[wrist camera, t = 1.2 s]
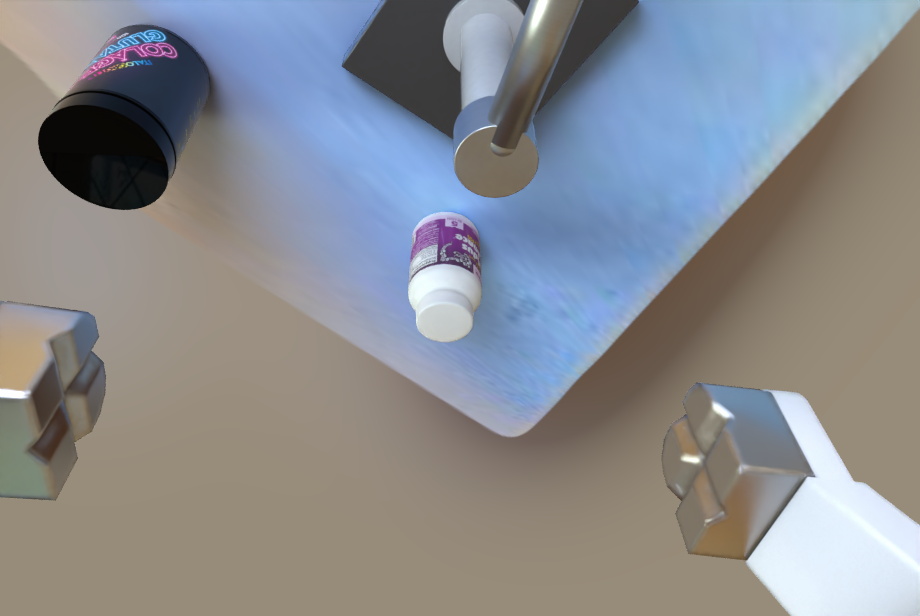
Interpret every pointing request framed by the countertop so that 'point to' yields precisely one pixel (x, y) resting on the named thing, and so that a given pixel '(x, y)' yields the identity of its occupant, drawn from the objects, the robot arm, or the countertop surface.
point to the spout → (513, 106)
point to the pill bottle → (445, 276)
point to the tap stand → (461, 50)
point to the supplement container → (126, 118)
